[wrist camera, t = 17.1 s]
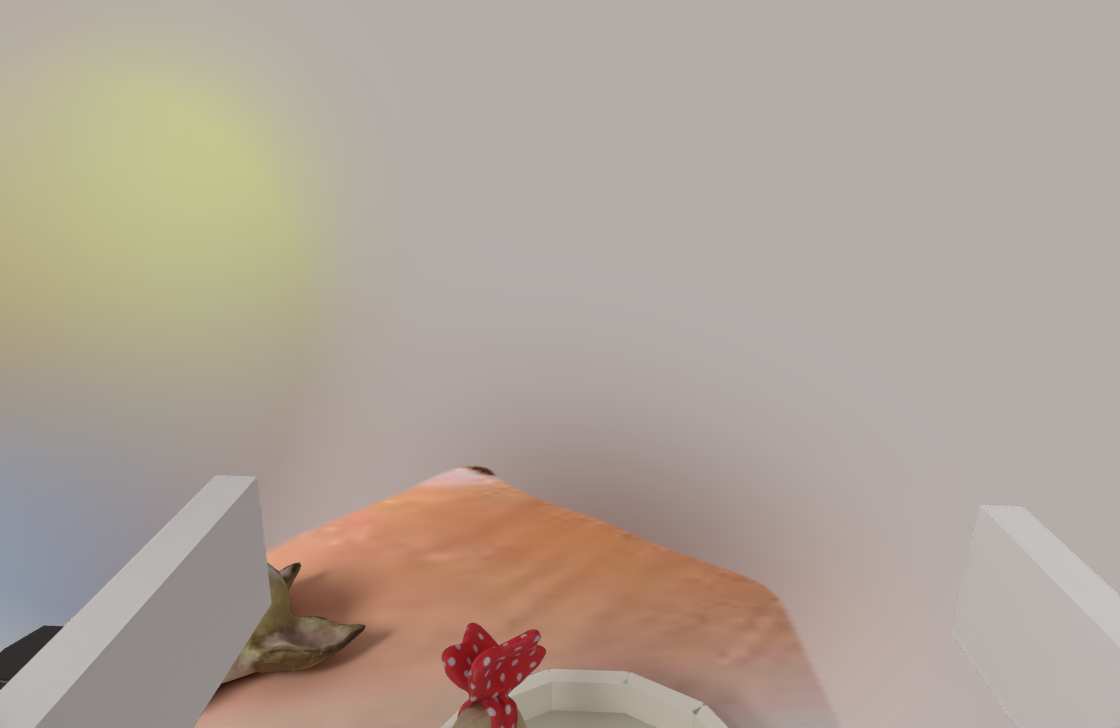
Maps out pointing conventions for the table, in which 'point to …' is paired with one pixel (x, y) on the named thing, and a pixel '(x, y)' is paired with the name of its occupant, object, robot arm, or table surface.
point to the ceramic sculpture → (289, 634)
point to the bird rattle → (491, 676)
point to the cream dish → (604, 702)
